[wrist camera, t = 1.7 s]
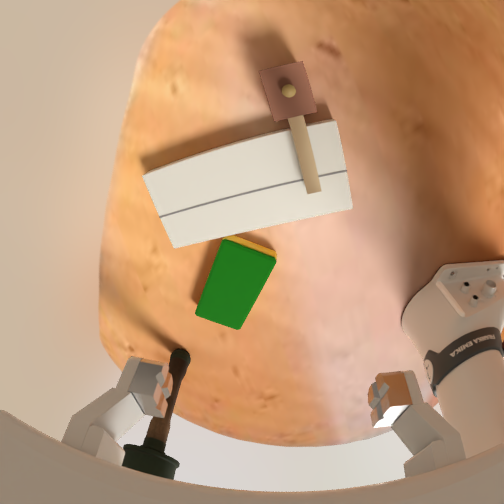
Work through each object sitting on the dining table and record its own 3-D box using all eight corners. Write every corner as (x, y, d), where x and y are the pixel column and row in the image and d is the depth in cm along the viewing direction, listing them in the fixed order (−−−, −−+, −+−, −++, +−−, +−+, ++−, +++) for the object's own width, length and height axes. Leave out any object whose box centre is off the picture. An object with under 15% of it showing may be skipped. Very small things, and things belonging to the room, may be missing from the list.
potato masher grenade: (151, 344, 49) (97, 490, 24) (186, 334, 47) (135, 503, 21) (178, 370, 53) (140, 507, 28) (213, 362, 50) (181, 517, 25)
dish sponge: (277, 250, 37) (277, 260, 35) (241, 319, 44) (239, 331, 42) (225, 230, 36) (222, 239, 34) (197, 304, 43) (194, 315, 41)
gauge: (298, 66, 25) (303, 60, 20) (327, 177, 31) (336, 194, 26) (261, 74, 26) (258, 70, 21) (293, 184, 32) (296, 203, 27)
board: (332, 118, 28) (336, 120, 26) (349, 202, 32) (353, 208, 31) (148, 171, 32) (142, 175, 31) (178, 240, 37) (174, 248, 35)
